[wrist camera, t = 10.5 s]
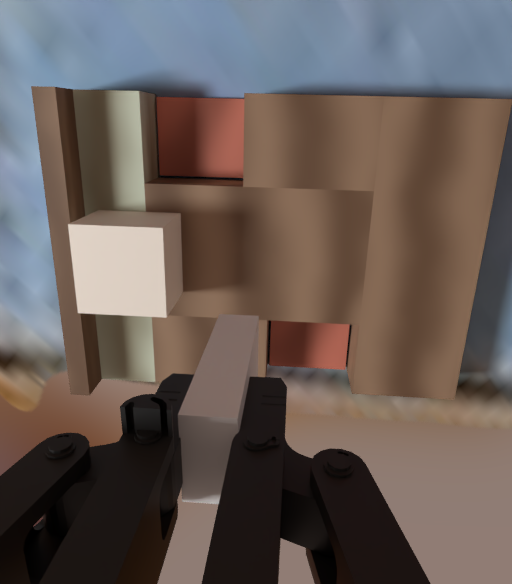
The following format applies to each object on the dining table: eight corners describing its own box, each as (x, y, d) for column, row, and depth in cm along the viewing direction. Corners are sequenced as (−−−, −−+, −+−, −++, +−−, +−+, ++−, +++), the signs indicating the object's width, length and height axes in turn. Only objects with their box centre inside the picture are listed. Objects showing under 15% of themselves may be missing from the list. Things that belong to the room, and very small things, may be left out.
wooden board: (487, 101, 33) (531, 97, 27) (439, 374, 41) (465, 418, 35) (76, 92, 35) (31, 86, 29) (102, 355, 43) (70, 394, 37)
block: (180, 213, 34) (162, 228, 29) (183, 291, 36) (166, 317, 31) (98, 210, 34) (67, 224, 29) (105, 288, 36) (77, 313, 31)
